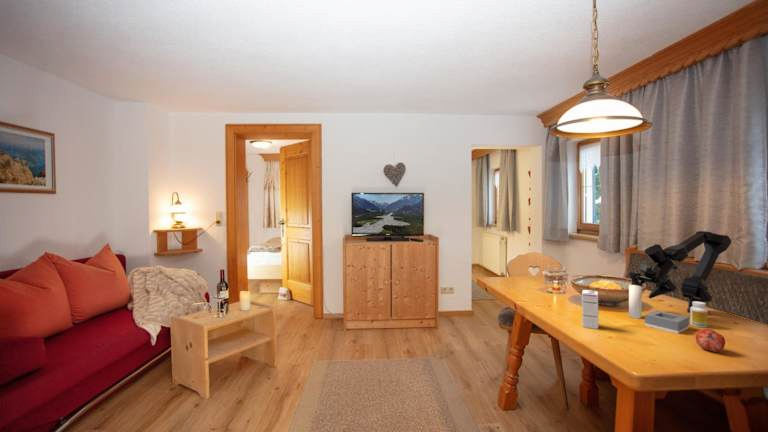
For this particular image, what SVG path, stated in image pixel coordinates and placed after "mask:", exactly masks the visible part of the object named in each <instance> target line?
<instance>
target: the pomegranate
mask: <svg viewBox="0 0 768 432" xmlns="http://www.w3.org/2000/svg"><path fill="white" fill-rule="evenodd" d="M695 341H696V343H697V345H698V346H699V347H700V348H702V350H705V351H710V352H715V353H718V352H721V351H723V350H724V348H725V345H726V339H725V337H724V336H723V335H722V334H721V333H719V332H717V331H715V330H714V329H711V328H706V329H705V328H703V329H702V330H700V331H697V333H696V334H695Z"/></svg>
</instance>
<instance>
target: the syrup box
mask: <svg viewBox="0 0 768 432" xmlns="http://www.w3.org/2000/svg"><path fill="white" fill-rule="evenodd" d="M581 305H582V306H581V313H582V315H581V316H582V317H581V318H582V320H581V321H582V322H581V323H582V324H581V325H582V327H583V328H587V329H588V328H589V329H593V330H594V329H595V330H599V324H600V323H599V321H600V320H599V318H600V317H599V314H600V313H599V311H600V310H599V291H597V290H592V289H590V290H589V289H582V292H581Z"/></svg>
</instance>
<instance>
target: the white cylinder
mask: <svg viewBox="0 0 768 432" xmlns="http://www.w3.org/2000/svg"><path fill="white" fill-rule="evenodd" d="M642 287H643V285H642V286H638V285H632V284H629V285H628V317H629V318H632V319H637V320H640V319H642V310H643V309H642V305H643V304H642V303H643V301H642V300H643V299H642V297H643V295H642V294H643V293H642V292H643V291H642V290H643V289H642Z"/></svg>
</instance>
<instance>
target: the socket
mask: <svg viewBox="0 0 768 432" xmlns="http://www.w3.org/2000/svg"><path fill="white" fill-rule="evenodd" d="M644 326H646V327H650V328H654V329H658V330H662V331H666V332H670V333H674V334H681V333H682V332H685V331H686V330H688V329H689V328H690V316H685V315H680V314H676V313H670V312H667V311H661V310H656V309H655V310H653V311H650V312H647V313H645V314H644Z"/></svg>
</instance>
